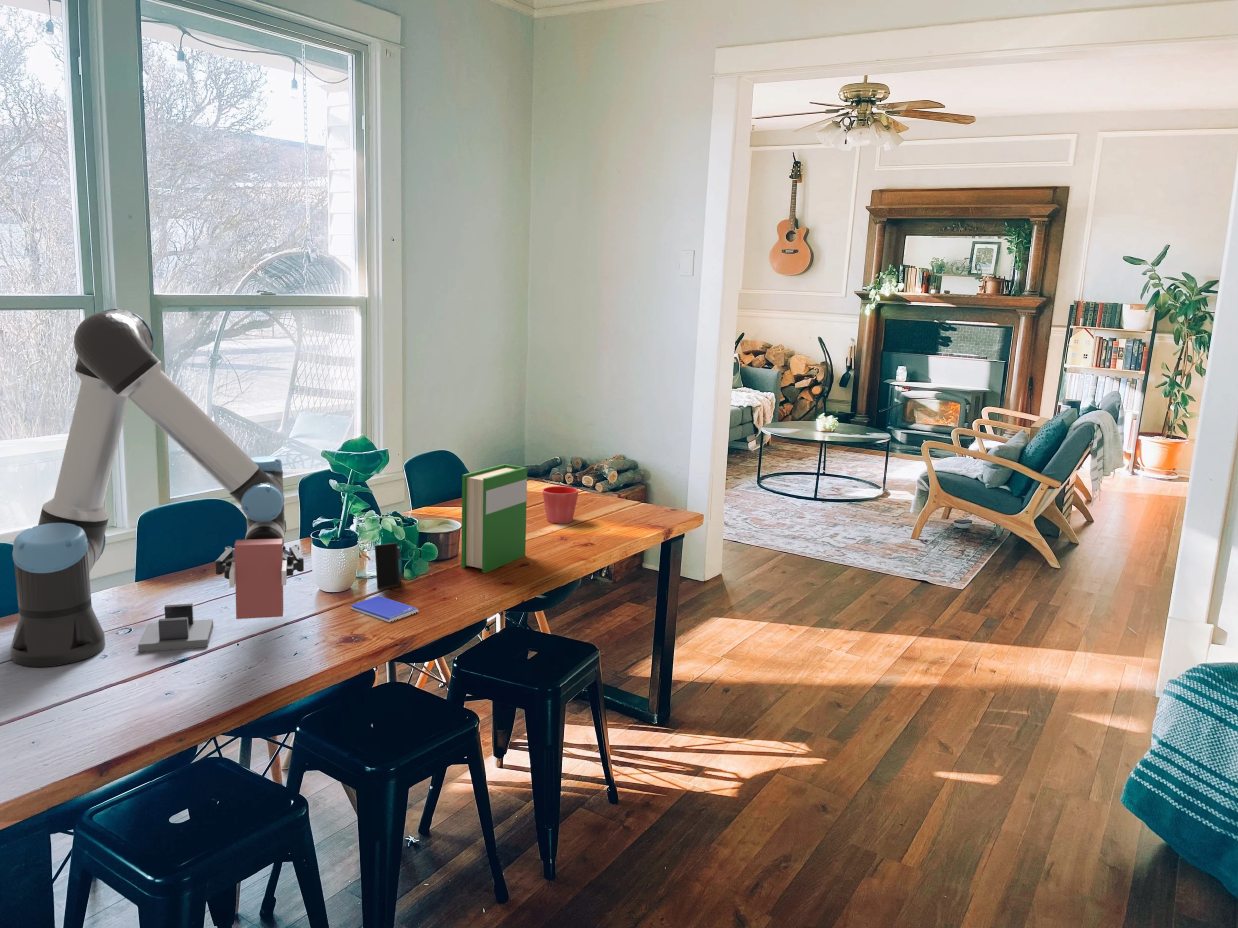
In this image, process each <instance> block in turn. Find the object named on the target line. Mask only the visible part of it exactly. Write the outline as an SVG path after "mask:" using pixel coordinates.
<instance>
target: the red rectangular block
mask: <svg viewBox="0 0 1238 928" xmlns="http://www.w3.org/2000/svg"><path fill="white" fill-rule="evenodd" d="M234 548H235V586H234V588H235V618H236V620H244V619H245V620H246V619H263V618H264V619H265V618H266V619H267V618H283V616H284V585H282V563H283V539H252V540H245V539H236V540H235V542H234Z"/></svg>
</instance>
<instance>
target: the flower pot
mask: <svg viewBox="0 0 1238 928" xmlns="http://www.w3.org/2000/svg"><path fill="white" fill-rule="evenodd" d="M541 491H542V497H543V505H544V510H545V515H546V520H547V522H548V523H552V524H569V523H572V522H573V520H574V516H575V512H576V511H575V510H576V506H577V501H578V496H579V489H578V488H576V487H570V486H560V485H558V486H556V485H555V486H554V485H553V486H547V487H545V488H542V490H541Z"/></svg>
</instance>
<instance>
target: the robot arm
mask: <svg viewBox="0 0 1238 928" xmlns="http://www.w3.org/2000/svg"><path fill="white" fill-rule="evenodd" d="M154 343H155V341H154V335H153V332H152V330H151V328H150V326H149V324H148V323H147V322H146V321H145V319H143V318H142V317H141V316H139V315H138V314H137V313H133V312H131V311H128V310H126V309H121V308H120V309H119V308H109V309H106V310H102V311H100V312H97V313H94V314H91V315H89V316H87V317H86V318H84V320H82V321H81V322H80V323H79V325H78V326H77V328H76V330H75V332H74V337H73V347H74V349H75V353H76V356H77V359H76V362H75V368H74V373H75V374H76V375H77V377H78V378H79V379H80V386H79V390H78V395H77V399H76V403H75V408H74V412H73V416H72V419H71V424H70V428H69V431H68V437H67V440H66V445H65V449H64V453H63V456H62V457H63V458H62V461H61V462H62V463H61V466H60V469H59V470H60V471H59V475H58V479H57V482H56V488H55V490H54V491H55V493H54V496H53V498H51V499H50V500H48V501H47V502H45V503H43V504H42V506H41V507H42V508H41V511H40V516H39V519H38V525H35V526H32V528H27V529H24V530H23V531H21V532H19V534H17V536H16V537H14V540H13V545H12V546H13V548H12V549H13V550H12V553H11V554H12V555H11V556H12V561H13V565H14V575H15V585H16V598H17V605H18V616H19V617H18V620H17V624H16V628H15V630H14V634H13V637H12V641H11V645H10V656H11V660H12V661H13V662H14V663H15V664H17V665H20V666H23V667H32V668H33V667H34V668H37V667H38V668H40V667H41V668H45V667H55V666H61V665H68V664H71V663H75V662H79V661H83V660H86V659H88V658H91V657H92V656H95V655H97V654H98V653H100V652H101V651H102V650H103V649H104V648H105V647H106V639H105V636H106V635H105V632H104V630H103V628H102V625H101V624H100V622H99V619H98V617H97V615H96V613H95V611H94V609H93V606H92V605H93V604H92V593H91V580H90V573H91V571H92V569H93V567H94V566H95V564H96V563H97V562H98V561H99V560H100V558H101V556H102V555H103V553H104V550H105V548H106V542H107V541H106V540H107V539H106V537H107V536H106V530H107V527H108V522H109V518H110V514H109V512H108V511H107V509H105V507H104V503H105V498H106V494H107V491H108V486H109V482H110V477H111V473H112V470H113V465H114V461H115V457H116V453H117V450H118V449H117V448H118V445H119V441H120V436H121V433H122V429H123V425H124V422H125V421H124V420H125V416H126V412H127V408H128V405H129V404H128V403H129V400H131V402H133V403H134V405H136V406H137V407H138V408H139V409H140V410H141V411H143V412H144V414H145V415H146V416H147V417H149V418H150V419H151V420H152V421H153V422H154V423H155V424H156V426H158V427H159V428H160V429H161V430H162V431H163V432H164V433H165V434H166V435H168V437H170V439H172V440H173V441H174V443H176V444H177V446H179V447H180V448H181V449H182V450H183V451H184V452H186V454H188V456H190V458H192V459H193V461H195V462H196V463H197V464H198V465H199V466H200V467H201V468H202V469H203V470H204V471H205V472H206V473H207V474H208V475H209V476H210V477H212V479H213V480H215V481H216V482H217V483H218V484H219V485H220V486H221V487H222V488H223V489H224V490H225V491H226V492H227V493H228V494H229V495H230V496H231V497H232V498H233V499H234V500H235V501H237V503H238V504H240V506H241V509H242V511H243V513H244V514H245V516H246V533H245V538H244V540H252V539H283V563H282V585H283V586H286V585H287V580H288V579H287V577H291V576H294V572H295V571H297V572H300V573H301V572H304V571H305V569H304V568H305V567H304V566H305V565H304V560H305V559H304V556H303V555H302V553H301V552H300V545H299V544H293V545H292V546H289V548H286V546H285V537H286V536H285V535H286V532H287V522H286V520H285V519H286V518H285V517H286V515H285V495H284V475H283V474H284V471H283V465H282V463H283V462H282V461H281V458H278V457H276V456H270V455H269V456H266V455H265V456H254V457H249V455H248V454H246V453H245V452H244V450H242V448H241V447H240V446H238V444H237V443H235V442H234V440H233V439H231V437H230V436H229V435H228V434H226V433H225V432H224V431H223V430H222V428H221V427H219V426H218V425H217V424H216V423H215V422H214V420H212V419H211V418H210V416H208V415H207V414H206V413H205V412H204V411H203V410H202V409H201V408H200V407H199V406H198V405H197V404H196V403H195V402H194V401H193V400H192V399H191V398H190V397H189V396H188V395H187V394H186V393H185V392H184V391H183V390H182V389H181V388H180V387H179V386H178V384H176V383H175V382H174V381H173V380H172V379H171V378H170V377H169V376H168V375H167V374H166V373H165V372H164V371H163V370H162V361H161V360H160V358H158V357H157V356H156V355H155V354H154V353H153V351H154V346H155V345H154ZM215 574H216V575H218V576H219V575H224V576H223V577H224V579H226V580H228V583H229V588H230V589H231V588H235V547H234V548H233V547H232V546H228V545H227V546H225V547H224V552H223V553H222V554H221V555H220V556H219V557H218V558H217V559H216V560H215Z"/></svg>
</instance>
